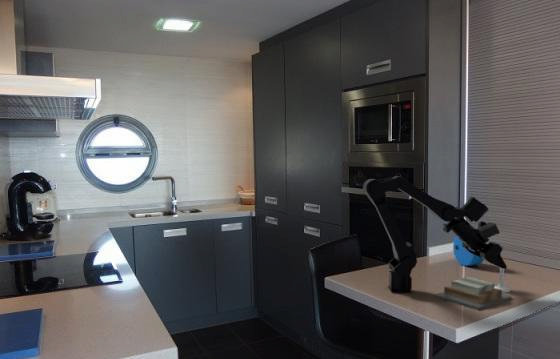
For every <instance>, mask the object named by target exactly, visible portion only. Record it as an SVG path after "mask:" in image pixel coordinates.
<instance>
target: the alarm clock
mask: <svg viewBox="0 0 560 359" xmlns="http://www.w3.org/2000/svg"><path fill="white" fill-rule="evenodd" d="M462 243H463V242H462V241H460V240H459V237H458V236H457V235H456V237H455V238H454V241H453V248H452V249H453V250H452V251H453V255H454V257H455V259H456V261H457V262H458V263H459V264H460V265H462V266H463V267H469V266H477V267H478V268H480V265H481V264H482V263H483V262H484V261H485V260H484V259H483V258H480V257H478V256H476V255H474V254H472V253H470V252H468V251H466V250H465V249H464V248H463V247H462ZM468 249H469V248H468ZM469 250H470V249H469Z"/></svg>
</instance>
